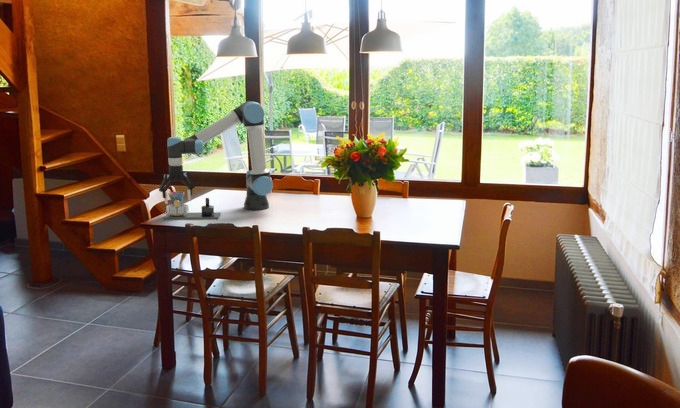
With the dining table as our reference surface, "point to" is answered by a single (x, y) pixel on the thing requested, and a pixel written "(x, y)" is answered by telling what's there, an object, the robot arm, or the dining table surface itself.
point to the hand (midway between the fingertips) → (178, 202)
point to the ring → (177, 209)
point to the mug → (176, 196)
